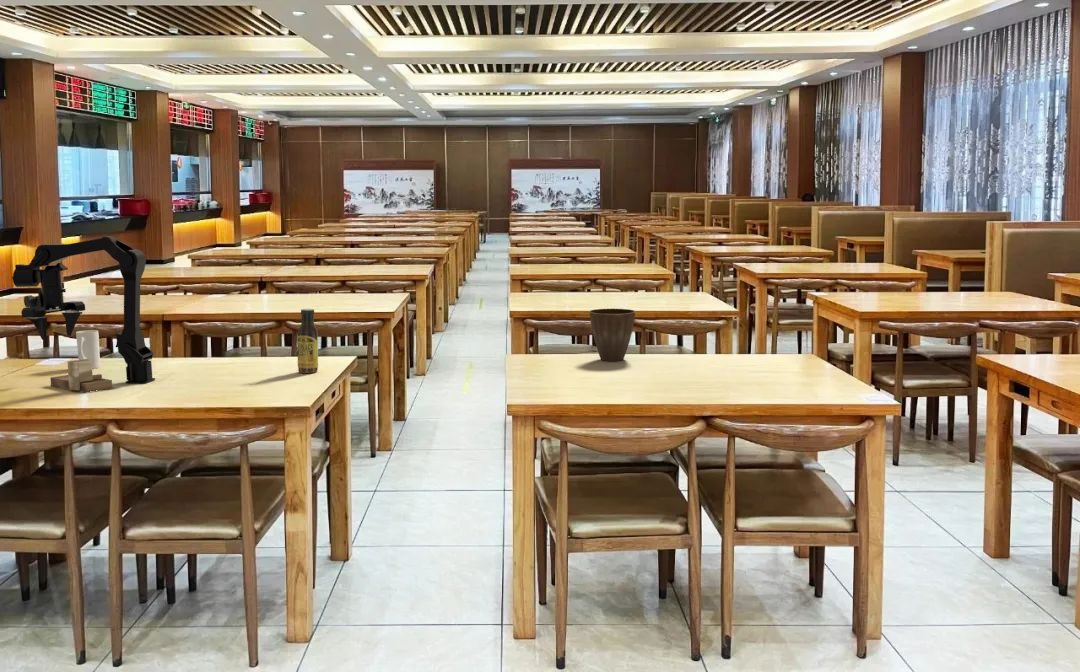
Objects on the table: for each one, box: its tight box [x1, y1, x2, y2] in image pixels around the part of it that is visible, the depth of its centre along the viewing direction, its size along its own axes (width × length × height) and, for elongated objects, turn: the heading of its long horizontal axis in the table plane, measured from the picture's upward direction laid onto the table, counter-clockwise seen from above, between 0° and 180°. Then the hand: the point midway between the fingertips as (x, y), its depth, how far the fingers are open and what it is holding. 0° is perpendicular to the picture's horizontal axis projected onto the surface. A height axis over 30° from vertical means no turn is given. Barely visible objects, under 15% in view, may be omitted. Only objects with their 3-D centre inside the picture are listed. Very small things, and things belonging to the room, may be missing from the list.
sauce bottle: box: [297, 308, 319, 374], centre depth 339 cm, size 6×6×20 cm
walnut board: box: [49, 374, 113, 393], centre depth 320 cm, size 20×8×3 cm, turn 52°
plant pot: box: [588, 308, 636, 362], centre depth 354 cm, size 15×15×16 cm
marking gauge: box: [67, 359, 103, 391], centre depth 316 cm, size 4×9×8 cm, turn 142°
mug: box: [75, 329, 101, 370], centre depth 353 cm, size 10×7×12 cm, turn 0°
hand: (56, 337), depth 327 cm, fingers open, 9 cm apart
